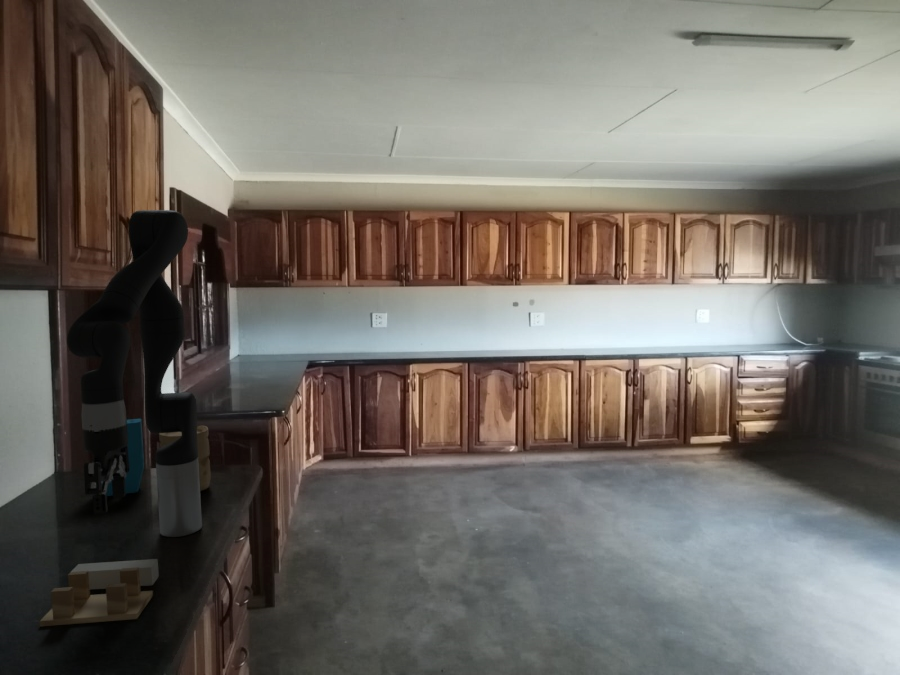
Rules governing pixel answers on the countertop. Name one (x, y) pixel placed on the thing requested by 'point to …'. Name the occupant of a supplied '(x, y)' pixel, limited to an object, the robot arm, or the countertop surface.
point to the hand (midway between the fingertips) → (110, 505)
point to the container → (202, 452)
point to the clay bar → (118, 572)
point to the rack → (97, 600)
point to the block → (133, 458)
